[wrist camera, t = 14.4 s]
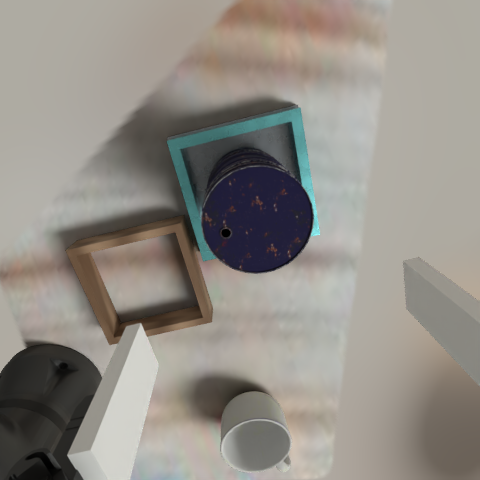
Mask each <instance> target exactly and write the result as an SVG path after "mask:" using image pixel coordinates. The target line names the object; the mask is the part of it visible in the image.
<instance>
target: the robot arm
mask: <svg viewBox="0 0 480 480" xmlns="http://www.w3.org/2000/svg"><path fill="white" fill-rule="evenodd" d="M403 265H404V281H405V293H406V294H405V296H406V309H407V310H408V311H409V312H410V313H411V314H412V315H413V316H414V317H415V318H416V319H417V320H418V322H420V324H421V325H422V326H423V327H424V328H425V329H426V330H427V331H428V332H429V333H430V334H431V335H432V336H433V337H434V338H435V340H437V342H438V343H439V344H440V345H441V346H442V347H443V348H444V349H445V350H446V351H447V352H448V353H449V354H450V355H451V356H452V358H453V359H454V360H455V361H456V362H457V363H458V364H459V365H460V366H461V367H462V368H463V369H464V370H465V371H466V372H467V373H468V374H469V376H471V378H472V379H473V380H474V381H475V382H476V383H477V384H478V385H479V386H480V301H478V300H477V299H476V298H474V297H473V296H472V295H470V294H469V293H467V292H466V291H465V290H463V289H462V288H461V287H459V286H458V285H456V284H455V283H454V282H452V281H451V280H450V279H448V278H447V277H446V276H444V275H443V274H441V273H440V272H439V271H437V270H436V269H434V268H433V267H432V266H430V265H429V264H428V263H426V262H425V261H423V260H422V259H421V258H419V257H418V258H414V259H410V260H405V261H403ZM158 367H159V364H158V362H157V360H156V357H155V355H154V352H153V350H152V348H151V345H150V343H149V341H148V338H147V336H146V333H145V331H144V329H143V326H142V324H141V323H138V324H134V325H130V326H126V328H125V330H124V332H123V335H122V337H121V339H120V341H119V343H118V345H117V348H116V350H115V352H114V354H113V356H112V358H111V361H110V363H109V365H108V367H107V369H106V372H105V374H104V376H103V378H102V377H101V375H100V373H99V371H98V369H97V368H96V366H95V365H94V364H93V363H92V362H91V361H90V360H89V359H87V358H86V357H85V356H83V355H82V354H80V353H78V352H76V351H74V350H72V349H69V348H66V347H62V346H57V345H37V346H33V347H29V348H26V349H24V350H22V351H20V352H19V353H17V354H16V355H15V356H14V357H13V358H12V359H11V360H10V362H8V364H7V365H6V366H5V367H4V368H3V370H2V371H1V373H0V480H130V476H131V472H132V469H133V465H134V461H135V457H136V453H137V449H138V445H139V441H140V437H141V434H142V430H143V426H144V422H145V418H146V414H147V410H148V406H149V402H150V399H151V395H152V391H153V387H154V383H155V379H156V375H157V371H158Z"/></svg>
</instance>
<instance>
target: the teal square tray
mask: <svg viewBox="0 0 480 480" xmlns="http://www.w3.org/2000/svg"><path fill="white" fill-rule="evenodd" d="M167 139H168V141H167V144H168V147H169V150H170V154H171V157H172V160H173V164H174V167H175V170H176V174H177V177H178V180H179V183H180V187H181V190H182V193H183V197H184V200H185V203H186V206H187V210H188V213H189V216H190V220H191V223H192V226H193V229H194V233H195V236H196V239H197V243H198V246H199V249H200V253H201V256H202V259H203V261H207V260H211V259H216V257H215V256H214V255H213V254H212V252H211V251H210V249H209V248H208V246H207V244H206V242H205V240H204V237H203V233H202V227H201V214H202V205H203V200H204V195H205V192H206V188H207V183H208V179H209V176H210V174H211V172H212V170H213V168H214V166H215V164H216V163H217V162H218V161H219V160H220V159H221V158H222V157H223V156H224V155H225V154H227V153H229V152H231V151H233V150H235V149H239V148H255V149H259V150H262V151H264V152H266V153H268V154H270V155H271V156H273V157H274V158H275V159H276V160H277V161H279V162H280V163H281V164H282V165H283V166H284V167H285V168H287V169H288V170H289V171H290V172H291V173H292V174H293V175H294V176H295V177H296V178H297V180H298V181H299V182H300V183H301V185H302V186H303V187H304V188H305V190H306V191H307V193H308V195H309V197H310V200H311V203H312V206H313V212H314V224H313V230H312V233H311V236H315V235H319V234H320V231H319V225H318V218H317V212H316V205H315V199H314V192H313V186H312V179H311V173H310V166H309V160H308V153H307V147H306V140H305V134H304V128H303V121H302V115H301V108H298V105H294V106H290V107H286V108H282V109H278V110H274V111H270V112H266V113H262V114H258V115H254V116H250V117H246V118H242V119H238V120H234V121H230V122H226V123H222V124H218V125H214V126H210V127H206V128H202V129H198V130H194V131H190V132H186V133H182V134H178V135H174V136H170V137H167Z"/></svg>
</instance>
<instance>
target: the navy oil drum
mask: <svg viewBox="0 0 480 480" xmlns="http://www.w3.org/2000/svg"><path fill="white" fill-rule="evenodd" d="M313 224H314V212H313V206H312V203H311V200H310V197H309V195H308V193H307V191H306V190H305V188H304V187H303V186H302V185H301V183H300V182H299V181H298V180H297V178H296V177H295V176H294V175H293V174H292V173H291V172H290V171H289V170H288V169H287V168H285V167H284V166H283V165H282V164H281V163H280V162H279V161H277V160H276V159H275V158H274V157H273V156H271V155H270V154H268V153H266V152H264V151H262V150H259V149H255V148H239V149H235V150H233V151H231V152H229V153H227V154H225V155H224V156H223V157H222V158H221V159H220V160H219V161H218V162H217V163H216V164H215V166H214V168H213V170H212V172H211V174H210V176H209V179H208V183H207V188H206V192H205V195H204V200H203V205H202V214H201V227H202V233H203V237H204V240H205V242H206V244H207V246H208V248H209V249H210V251H211V252H212V254H213V255H214V256H215V257H216V258H217V259H218V260H219V261H221V262H222V263H223V264H225V265H226V266H228V267H230V268H232V269H234V270H237V271H240V272H245V273H254V274H258V273H267V272H271V271H274V270H277V269H280V268H282V267H284V266H285V265H287V264H289V263H290V262H291V261H293V260H294V259H295V258H296V257H297V256H298V255H299V254H300V253H301V252H302V251H303V249H304V248H305V246H306V245H307V243H308V241H309V239H310V236H311V233H312V230H313Z"/></svg>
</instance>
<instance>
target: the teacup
mask: <svg viewBox="0 0 480 480" xmlns="http://www.w3.org/2000/svg"><path fill="white" fill-rule="evenodd" d="M291 445H292V440H291V435H290V433H289V431H288V427H287V423H286V419H285V416H284V413H283V411H282V408H281V406H280V405H279V403H278V402H277V401H276V400H275V399H274V398H273V397H271V396H270V395H268V394H266V393H263V392H257V391H252V392H246V393H242V394H240V395H238V396H236V397H235V398H233V399H232V400H231V401H230V402H229V403H228V404H227V406H226V407H225V409H224V411H223V415H222V420H221V445H220V451H221V455H222V458H223V460H224V461H225V462H226V463H227V464H228V465H229V466H230V467H231V468H234V469H236V470H238V471H241V472H246V473H258V472H263V471H266V470H269V469H271V468H274V467H275V466H276V467H277V469H278V470H279V471H281V472H286V471H287V470H288V469H289V468H290V466H291V461H290V457H289V452H290V449H291Z"/></svg>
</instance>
